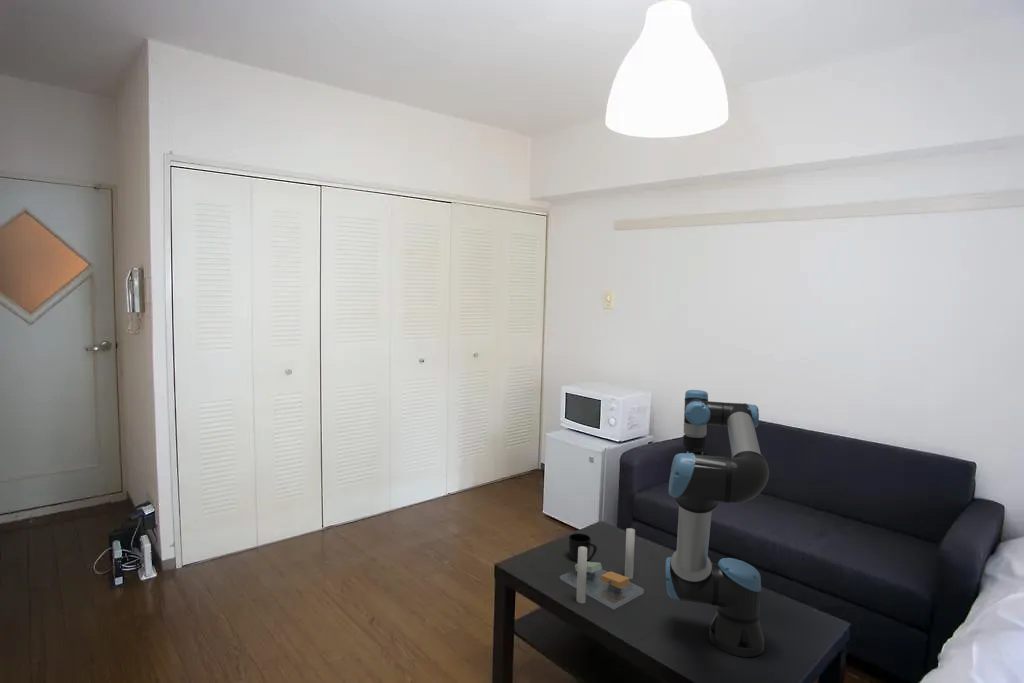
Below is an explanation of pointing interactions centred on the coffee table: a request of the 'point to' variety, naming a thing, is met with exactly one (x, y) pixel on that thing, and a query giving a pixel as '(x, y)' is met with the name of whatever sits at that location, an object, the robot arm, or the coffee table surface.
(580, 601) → the cord post left
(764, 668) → the coffee table surface
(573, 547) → the mug
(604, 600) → the panel
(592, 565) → the rocker on
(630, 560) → the cord post right
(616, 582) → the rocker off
